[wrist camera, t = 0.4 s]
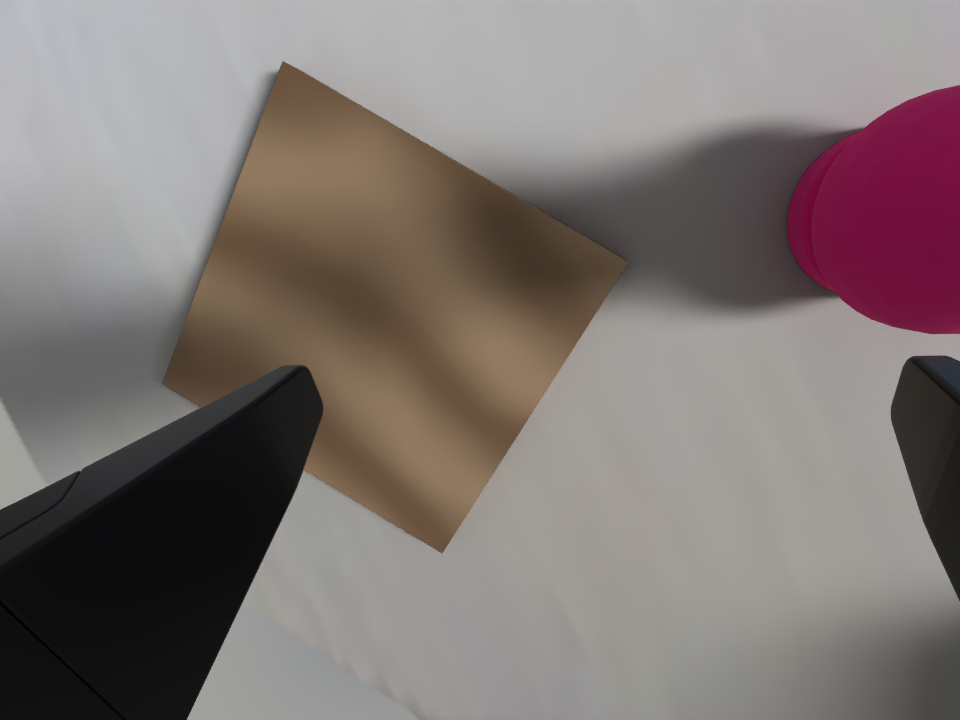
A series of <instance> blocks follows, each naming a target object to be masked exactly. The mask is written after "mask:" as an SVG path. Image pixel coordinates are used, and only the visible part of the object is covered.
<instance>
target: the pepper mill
mask: <svg viewBox="0 0 960 720" xmlns="http://www.w3.org/2000/svg"><path fill="white" fill-rule="evenodd" d="M788 239H789V243H790V247H791V250H792V253H793V255H794V257H795V259H796V261H797V263H798V264H799V265H800V267H801V268H802V270H803V271H804V272H805V273H806V274H807V275H808V276H809V277H810V278H811V279H813V280H814V281H815V282H816V283H818V284H819V285H821V286H823V287H825V288H827V289H829V290H831V291H833V292H835V293H836V294H837V295H838V296H839V297H840V298H841V299H842V300H843V301H844V302H845V303H847V304H848V305H849V306H850V307H852V308H853V309H854V310H856V311H857V312H859V313H861V314H863V315H864V316H866V317H868V318H870V319H872V320H875V321H878V322H880V323H883V324H886V325H889V326H892V327H897V328H902V329H907V330H912V331H918V332H923V333H928V334H960V85H959V86H954V87H949V88H945V89H940V90H935V91H932V92H929V93H927V94H924V95H921V96H918V97H916V98H913V99H910V100H908V101H906V102H904V103H902V104H900V105H898V106H896V107H894V108H893V109H891V110H889V111H887V112H886V113H884V114H883V115H881V116H880V117H878V118H877V119H875V120H874V121H872V122H871V123H870V124H869V125H868V126H867V127H865V128H864V129H863V130H862V131H859V132H857V133H854V134H852V135H850V136H848V137H846V138H844V139H842V140H840V141H839V142H837V143H836V144H834V145H833V146H832V147H830V148H829V149H828V150H826V151H825V152H824V153H823V154H822V155H820V156H819V157H818V158H817V159H816V160H815V161H814V162H813V163H812V164H811V165H810V166H809V168H808V169H807V171H806V172H805V173H804V175H803V176H802V178H801V179H800V181H799V183H798V185H797V187H796V190H795V192H794V194H793V197H792V199H791V202H790V206H789V211H788Z"/></svg>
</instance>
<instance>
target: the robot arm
mask: <svg viewBox="0 0 960 720" xmlns="http://www.w3.org/2000/svg"><path fill="white" fill-rule="evenodd" d="M322 416H323V401H322V399H321V396H320V394H319V391H318V389H317V386H316V384H315V381H314V379H313V376H312V374H311V372H310V370H309V369H308V368H307V367H306V366H304V365H285V366H281V367H279V368H277V369H275V370H273V371H271V372H269V373H267V374H265V375H264V376H262V377H260V378H258V379H256V380H254V381H252V382H250V383H248V384H246V385H244V386H242V387H240V388H238V389H236V390H234V391H232V392H230V393H229V394H227V395H225V396H223V397H221V398H219V399H217V400H215V401H213V402H211V403H209V404H207V405H205V406H203V407H201V408H199V409H197V410H195V411H194V412H192V413H190V414H188V415H186V416H184V417H182V418H180V419H178V420H176V421H174V422H172V423H170V424H168V425H166V426H164V427H162V428H161V429H159V430H157V431H155V432H153V433H151V434H149V435H147V436H145V437H143V438H141V439H139V440H137V441H135V442H133V443H131V444H129V445H127V446H126V447H124V448H122V449H120V450H118V451H116V452H114V453H112V454H110V455H108V456H106V457H104V458H102V459H100V460H98V461H96V462H94V463H92V464H91V465H89V466H87V467H85V468H83V469H82V471H77V472H75V473H73V474H71V475H69V476H67V477H65V478H63V479H61V480H59V481H57V482H55V483H53V484H51V485H49V486H47V487H45V488H44V489H41V490H39V491H37V492H35V493H33V494H32V495H29V496H28V497H25V498H23V499H21V500H19V501H18V502H16V503H13V504H11V505H9V506H7V507H5V508H3V509H1V510H0V720H187V718H188V716H189V713H190V712H191V709H192V707H193V705H194V703H195V701H196V699H197V697H198V695H199V692H200V690H201V688H202V686H203V684H204V682H205V680H206V678H207V676H208V674H209V672H210V669H211V667H212V665H213V663H214V661H215V659H216V657H217V655H218V653H219V651H220V649H221V646H222V644H223V642H224V640H225V638H226V636H227V634H228V632H229V629H230V628H231V625H232V623H233V621H234V619H235V617H236V615H237V613H238V611H239V609H240V607H241V604H242V602H243V600H244V598H245V596H246V594H247V592H248V590H249V588H250V586H251V583H252V581H253V579H254V577H255V575H256V573H257V571H258V569H259V567H260V565H261V563H262V560H263V558H264V556H265V554H266V552H267V550H268V548H269V546H270V544H271V542H272V539H273V537H274V535H275V533H276V531H277V529H278V527H279V525H280V523H281V521H282V518H283V516H284V514H285V512H286V510H287V508H288V506H289V504H290V502H291V499H292V497H293V495H294V493H295V491H296V488H297V486H298V483H299V481H300V478H301V475H302V473H303V470H304V467H305V464H306V461H307V458H308V456H309V453H310V450H311V447H312V444H313V441H314V439H315V436H316V433H317V430H318V427H319V425H320V422H321V419H322ZM891 421H892V425H893V428H894V431H895V434H896V438H897V441H898V444H899V447H900V450H901V454H902V457H903V460H904V463H905V466H906V470H907V473H908V476H909V479H910V482H911V486H912V489H913V492H914V495H915V498H916V502H917V505H918V508H919V511H920V513H921V516H922V519H923V522H924V524H925V527H926V529H927V531H928V534H929V536H930V538H931V540H932V543H933V545H934V547H935V549H936V551H937V553H938V555H939V558H940V560H941V562H942V564H943V566H944V568H945V571H946V573H947V575H948V577H949V579H950V581H951V584H952V586H953V588H954V590H955V592H956V594H957V596H958V599H959V601H960V361H958V360H955V359H953V358H951V357H948V356H913V357H911V358H909V359H908V360H907V361H906V362H905V364H904V366H903V368H902V372H901V375H900V378H899V382H898V385H897V388H896V392H895V395H894V398H893V402H892V405H891Z"/></svg>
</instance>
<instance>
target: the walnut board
mask: <svg viewBox="0 0 960 720" xmlns="http://www.w3.org/2000/svg"><path fill="white" fill-rule="evenodd" d="M627 264H628V262H627V261H626V260H625V259H623V258H621V257H620V256H618V255H616V254H615V253H613V252H611V251H609V250H608V249H606V248H604V247H602V246H601V245H599V244H597V243H596V242H594V241H592V240H590V239H589V238H587V237H585V236H584V235H582V234H580V233H578V232H577V231H575V230H573V229H572V228H570V227H568V226H566V225H565V224H563V223H561V222H560V221H558V220H556V219H554V218H553V217H551V216H549V215H548V214H546V213H544V212H542V211H541V210H539V209H537V208H536V207H534V206H532V205H530V204H529V203H527V202H525V201H524V200H522V199H520V198H518V197H517V196H515V195H513V194H512V193H510V192H508V191H506V190H505V189H503V188H501V187H500V186H498V185H496V184H494V183H493V182H491V181H489V180H488V179H486V178H484V177H482V176H481V175H479V174H477V173H476V172H474V171H472V170H470V169H469V168H467V167H465V166H464V165H462V164H460V163H458V162H457V161H455V160H453V159H452V158H450V157H448V156H446V155H445V154H443V153H441V152H440V151H438V150H436V149H434V148H433V147H431V146H429V145H428V144H426V143H424V142H422V141H421V140H419V139H417V138H416V137H414V136H412V135H410V134H409V133H407V132H405V131H404V130H402V129H400V128H398V127H397V126H395V125H393V124H391V123H390V122H388V121H386V120H385V119H383V118H381V117H379V116H378V115H376V114H374V113H373V112H371V111H369V110H367V109H366V108H364V107H362V106H361V105H359V104H357V103H355V102H354V101H352V100H350V99H349V98H347V97H345V96H343V95H342V94H340V93H338V92H337V91H335V90H333V89H331V88H330V87H328V86H326V85H325V84H323V83H321V82H319V81H318V80H316V79H314V78H313V77H311V76H309V75H307V74H306V73H304V72H302V71H301V70H299V69H297V68H295V67H293V66H291V65H289V64H287V63H285V62H282V64H281V67H280V70H279V72H278V75H277V78H276V80H275V83H274V86H273V88H272V91H271V94H270V96H269V99H268V102H267V104H266V107H265V110H264V112H263V115H262V118H261V121H260V123H259V126H258V129H257V131H256V134H255V137H254V139H253V142H252V145H251V147H250V150H249V153H248V155H247V158H246V161H245V163H244V166H243V169H242V171H241V174H240V177H239V179H238V182H237V185H236V187H235V190H234V193H233V195H232V198H231V201H230V203H229V206H228V209H227V211H226V214H225V217H224V219H223V222H222V225H221V227H220V230H219V233H218V235H217V238H216V241H215V243H214V246H213V249H212V252H211V254H210V257H209V260H208V262H207V265H206V268H205V270H204V273H203V276H202V278H201V281H200V284H199V286H198V289H197V292H196V294H195V297H194V300H193V302H192V305H191V308H190V310H189V313H188V316H187V318H186V321H185V324H184V326H183V329H182V332H181V334H180V337H179V340H178V342H177V345H176V348H175V350H174V353H173V356H172V358H171V361H170V364H169V366H168V369H167V372H166V375H165V377H164V380H163V383H162V384H163V385H165V386H166V387H168V388H170V389H171V390H173V391H175V392H176V393H178V394H180V395H181V396H183V397H185V398H186V399H188V400H190V401H191V402H193V403H194V404H196V405H198V406H199V407H203V406H205V405H207V404H209V403H211V402H213V401H215V400H217V399H219V398H221V397H223V396H225V395H227V394H229V393H230V392H232V391H234V390H236V389H238V388H240V387H242V386H244V385H246V384H248V383H250V382H252V381H254V380H256V379H258V378H260V377H262V376H264V375H265V374H267V373H269V372H271V371H273V370H275V369H277V368H279V367H281V366H285V365H304V366H306V367H307V368H308V369H309V370H310V372H311V374H312V376H313V379H314V381H315V384H316V386H317V389H318V391H319V394H320V396H321V399H322V401H323V416H322V419H321V422H320V425H319V427H318V430H317V433H316V436H315V439H314V441H313V444H312V447H311V450H310V453H309V456H308V458H307V461H306V464H305V467H304V470H305V471H307V472H308V473H310V474H312V475H313V476H315V477H317V478H318V479H320V480H322V481H323V482H325V483H327V484H328V485H330V486H332V487H333V488H335V489H337V490H338V491H340V492H341V493H343V494H345V495H346V496H348V497H350V498H351V499H353V500H355V501H356V502H358V503H360V504H361V505H363V506H365V507H366V508H368V509H370V510H371V511H373V512H375V513H376V514H378V515H379V516H381V517H383V518H384V519H386V520H388V521H389V522H391V523H393V524H394V525H396V526H398V527H399V528H401V529H403V530H404V531H406V532H408V533H409V534H411V535H413V536H414V537H416V538H417V539H419V540H421V541H422V542H424V543H426V544H427V545H429V546H431V547H432V548H434V549H436V550H437V551H439V552H441V553H443V551H444V550H445V548H446V547H447V545H448V544H449V542H450V540H451V539H452V537H453V536H454V534H455V533H456V531H457V529H458V528H459V526H460V525H461V523H462V522H463V520H464V519H465V517H466V515H467V514H468V512H469V511H470V509H471V508H472V506H473V504H474V503H475V501H476V500H477V498H478V497H479V495H480V494H481V492H482V490H483V489H484V487H485V486H486V484H487V483H488V481H489V479H490V478H491V476H492V475H493V473H494V472H495V470H496V468H497V467H498V465H499V464H500V462H501V461H502V459H503V458H504V456H505V454H506V453H507V451H508V450H509V448H510V447H511V445H512V443H513V442H514V440H515V439H516V437H517V436H518V434H519V433H520V431H521V429H522V428H523V426H524V425H525V423H526V422H527V420H528V418H529V417H530V415H531V414H532V412H533V411H534V409H535V407H536V406H537V404H538V403H539V401H540V400H541V398H542V397H543V395H544V393H545V392H546V390H547V389H548V387H549V386H550V384H551V382H552V381H553V379H554V378H555V376H556V375H557V373H558V372H559V370H560V368H561V367H562V365H563V364H564V362H565V361H566V359H567V357H568V356H569V354H570V353H571V351H572V350H573V348H574V347H575V345H576V343H577V342H578V340H579V339H580V337H581V336H582V334H583V332H584V331H585V329H586V328H587V326H588V325H589V323H590V321H591V320H592V318H593V317H594V315H595V314H596V312H597V311H598V309H599V307H600V306H601V304H602V303H603V301H604V300H605V298H606V296H607V295H608V293H609V292H610V290H611V289H612V287H613V286H614V284H615V282H616V281H617V279H618V278H619V276H620V275H621V273H622V271H623V270H624V268H625V267H626V265H627Z"/></svg>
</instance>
